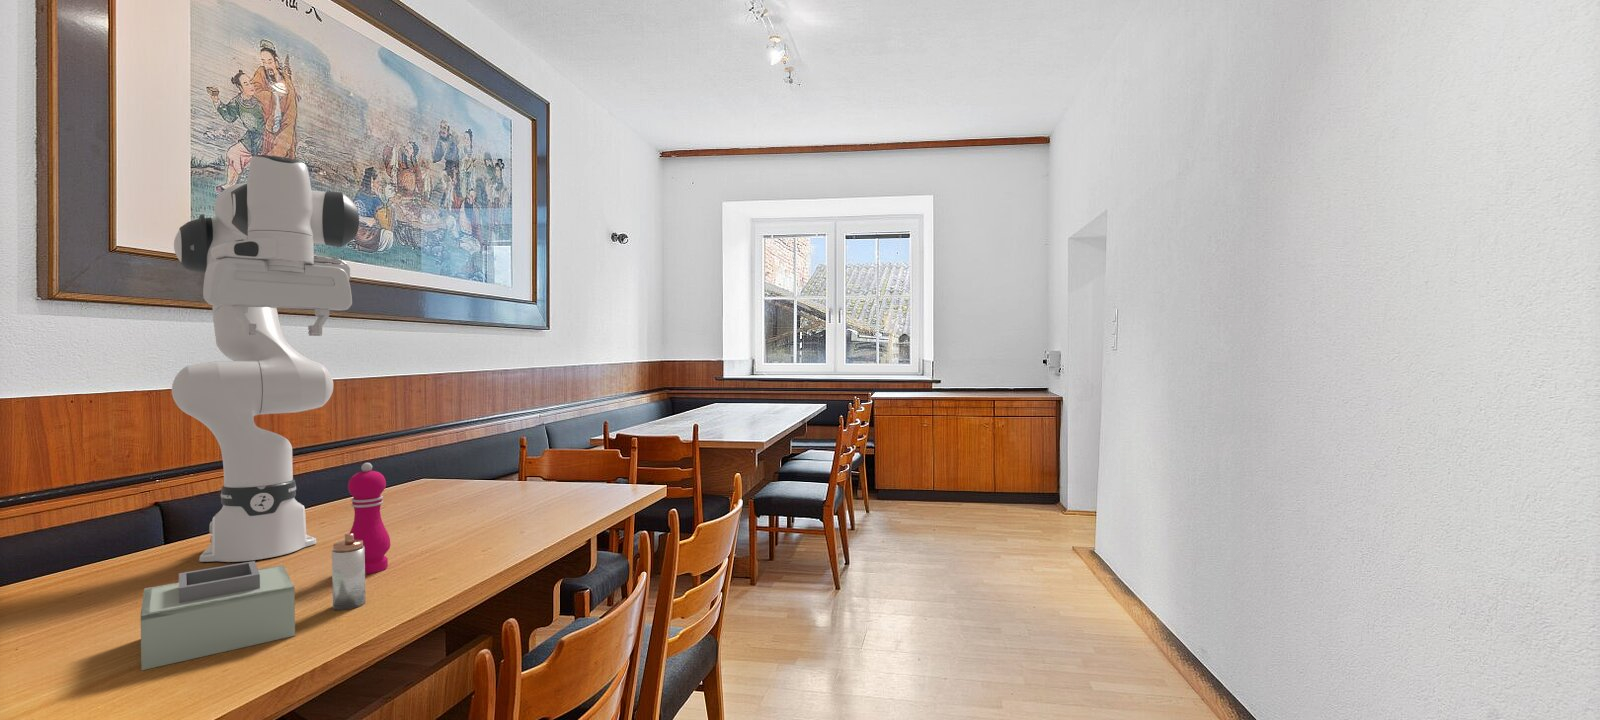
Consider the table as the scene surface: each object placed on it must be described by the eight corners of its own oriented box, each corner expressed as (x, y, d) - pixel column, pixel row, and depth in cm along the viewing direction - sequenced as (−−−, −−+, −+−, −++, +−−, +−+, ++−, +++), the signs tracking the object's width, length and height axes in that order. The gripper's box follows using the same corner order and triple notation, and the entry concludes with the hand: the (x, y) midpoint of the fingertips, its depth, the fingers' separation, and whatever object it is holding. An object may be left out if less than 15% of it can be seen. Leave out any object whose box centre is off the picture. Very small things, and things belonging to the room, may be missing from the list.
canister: (330, 604, 112) (329, 532, 112) (362, 598, 115) (361, 528, 115) (335, 612, 109) (334, 538, 109) (367, 605, 112) (366, 533, 112)
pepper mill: (369, 576, 126) (367, 466, 126) (335, 574, 127) (333, 465, 127) (399, 564, 133) (398, 460, 133) (367, 562, 134) (365, 459, 134)
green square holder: (145, 637, 100) (144, 574, 100) (284, 608, 110) (283, 552, 110) (141, 670, 89) (140, 600, 89) (295, 635, 100) (294, 573, 100)
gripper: (341, 260, 127) (343, 336, 127) (198, 247, 110) (200, 335, 110) (358, 257, 123) (359, 335, 123) (212, 243, 106) (214, 333, 106)
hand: (283, 335), depth 117 cm, fingers open, 8 cm apart
